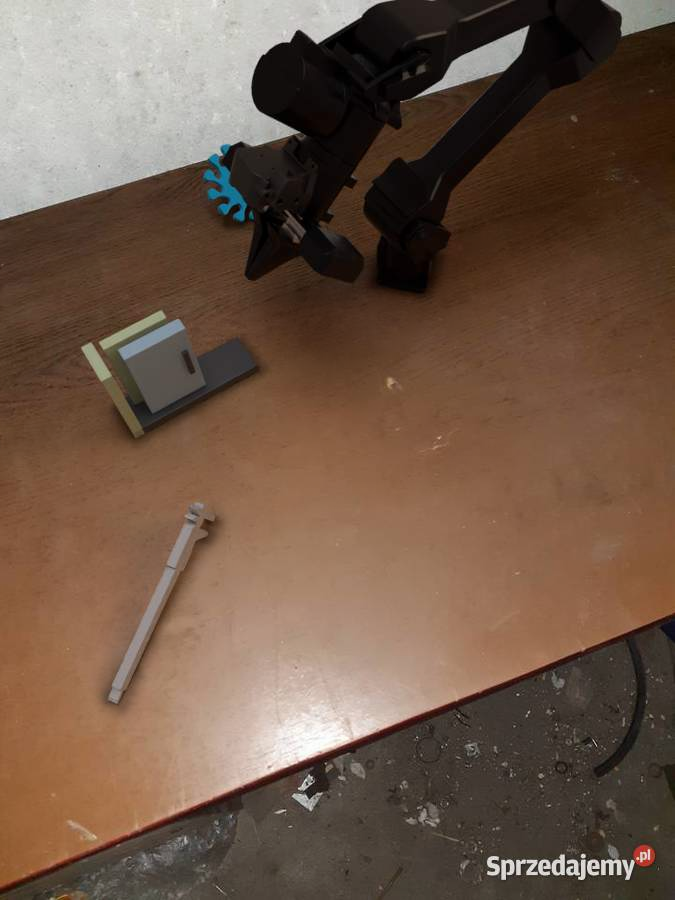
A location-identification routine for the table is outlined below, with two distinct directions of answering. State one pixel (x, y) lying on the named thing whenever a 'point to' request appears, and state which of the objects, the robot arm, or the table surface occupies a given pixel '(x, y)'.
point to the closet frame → (218, 374)
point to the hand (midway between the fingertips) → (249, 278)
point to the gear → (225, 187)
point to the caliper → (161, 595)
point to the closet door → (163, 365)
